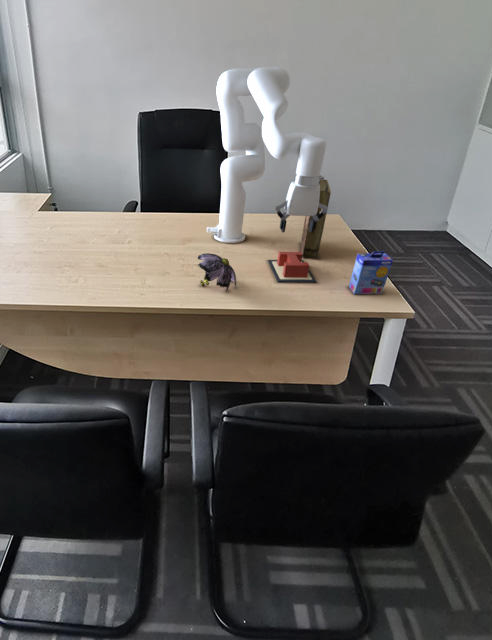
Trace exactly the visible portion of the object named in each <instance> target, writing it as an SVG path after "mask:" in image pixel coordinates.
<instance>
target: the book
mask: <svg viewBox="0 0 492 640" xmlns="http://www.w3.org/2000/svg"><path fill="white" fill-rule="evenodd" d="M319 185H320V197H319V202H320V203H321V204H323V205H325V206H326V207H327V208H328V209H329V203H330V199H331V194H332V190H331V188H330V185H329V181H328V179H324V180H323V181H320V182H319ZM321 210H322V209H321V208H319V207H318V210H317V213H316V214H318V213H319V212H320V211H321ZM327 213H328V210H327V211H326V213H325V214H324V216H323V217H321V218H320V219H319V220H318V221H317V224H316V228H315V230H314V232H313V233H311V232H310V230H309V226H310V221H311V219H312V218H313V217H312V216H304V223H303V228H302V233H301V239H300V249H301V250H300V252H301V253H302V254H303V255H302V258H313V259H318V257H319V252H320V249H321V244H322V243H321V242H322V238H323V234H324V228H325V224H326V223H325V222H326V218H327Z"/></svg>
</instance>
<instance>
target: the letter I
mask: <svg viewBox="0 0 492 640" xmlns="http://www.w3.org/2000/svg"><path fill="white" fill-rule="evenodd" d="M302 255H303V254H302V253H301V251H278V253H277V259H276V260H277V264H278V266H284V268H283V277H298V278H307V275H308V270H310V264H309V262H305V263H301V260H303V257H302Z"/></svg>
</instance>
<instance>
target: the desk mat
mask: <svg viewBox="0 0 492 640" xmlns="http://www.w3.org/2000/svg"><path fill="white" fill-rule="evenodd" d="M267 262H268V264H269V266H270V268H271V271H272V273H273V276H274V277H275V279H276V281H277V283H298V284H299V283H304V284H305V283H309V284H310V283H311V284H313V283H317V280H316V279H315V277H314V275H313V274H312V272H311V270H310V269H309V270H308V275H307V278H298V277H283V268H284V266H278V264H277V259H268V260H267ZM301 263H306V262H305V261H304V260H303V259H302V260H301Z"/></svg>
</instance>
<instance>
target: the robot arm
mask: <svg viewBox="0 0 492 640" xmlns="http://www.w3.org/2000/svg"><path fill="white" fill-rule="evenodd" d="M290 82H291V80H290V74H289V73H288V71H287V70H286V69H285V68H284V67H281V66H266V67H240V68H237V67H236V68H231V69H228V70H225V71H223V72H222V73H221V75H219V77H218V80H217V83H216V87H215V88H216V90H215V91H216V92H215V93H216V100H217V103H218V108H219V112H220V113H219V115H220V126H221V140H222V147H223V149H224V151H225V152H228V153H240V152H245V154H242V155H234V156H230V157H227V158H225V159H223V161H222V162H221V164H220V169H219V170H220V181H221V183H220V184H221V185H220V186H221V189H220V190H221V191H220V205H219V206H220V207H219V217H218V218H219V219H218V224H216V226H214V227H211V226H210V227H206V232H207V233H209V234H211V235H213V238H214V240H216V241H218V242H221V243H225V244H226V243H227V244H238V243H241V242H244V240H245V239H246V234H245V233H243V225H244V218H245V217H244V215H245V208H246V207H245V206H246V198H247V197H246V190H245V188H244V186H243V183H244V182H251V181H252V182H253V181H256V180H260V179H261V178H262V177H263V176H264V173H265V171H266V151H265V147H266V149H267V150H268V152H269V154H270V155H271V156H272V157H273V158H274V159H276V160H280V161H282V160H288V159H289V160H290V159H297V163H296V169H295V175H294V180H293V181H291V182H290V184H289V187H288V190H287V194H286V198H285V200H284V201H282V202H280V203H277V204H276V205H274V209H275V212H276V214H277V216H278V217H279V218H280V222H279V229H280V231H281V233H285V232H286V227H287V220H288V218H289V217H290V216H292V217H293V216H294V217H295V216H296V217H305V216H312V217H313V218H312V219H311V221H310V226H309V230H310V232H311V233H313V232H314V230H315V228H316V224H317V221H318V220H319V219H320V218H321V217H323V216H324V214H325V213H326V211H327V212H328V210H329V207H328V208H327V207H326V206H325V205H323V204H321V203H320V202H319V197H320V185H319V182H320V181H323V180H325V177H324V176H322V175H321V173H322V168H323V162H324V158H325V154H326V149H327V141H326V139H324V138H322V137H316V136H313V135H312V134H310V133H309V132H306V131H299V132H289V133H282V132H283V131H281V129H280V128H279V125H278V124H277V123H278V122H277V120H278V119H280V118H281V117H282V116H283V115H284V114H285V113H286V112H287V110H288V107H289V101H288V99H287V98H286V95H285V93H287V91H288V90H289V87H290ZM244 96H252V98H253V100H254V102H255V103H256V106H257V108H258V109H259V111H260V112H261V115H262V116H263V120H262V123H261V126H260V125H259V124H257V123H256V122H246V121H245V110H244V107H243V105H242V102H241V101H240V100H239V98H238V97H244ZM318 207H319V208H321V209H322V210H321V211H320V212H319V213H318V214H316V213H317V210H318ZM283 208H284V211H283V212H281V209H283Z"/></svg>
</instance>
